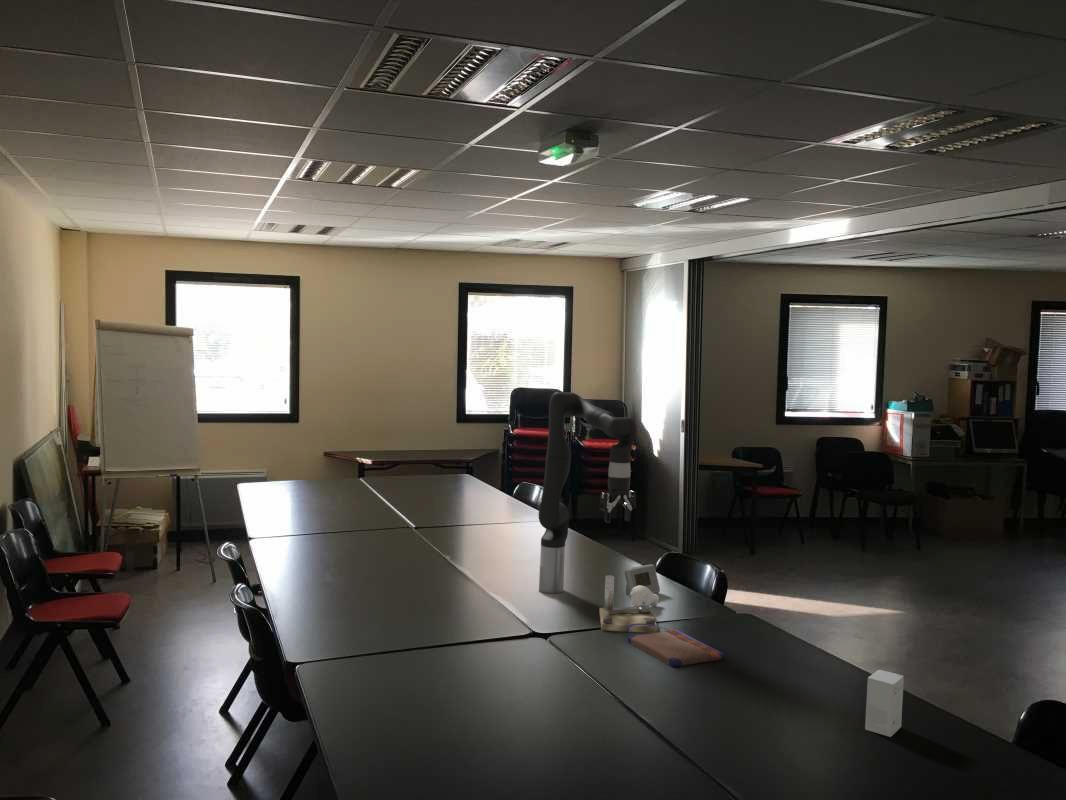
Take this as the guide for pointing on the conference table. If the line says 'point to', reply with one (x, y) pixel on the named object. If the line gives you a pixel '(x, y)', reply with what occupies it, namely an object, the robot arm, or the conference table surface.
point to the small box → (884, 702)
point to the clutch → (674, 647)
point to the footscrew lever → (609, 600)
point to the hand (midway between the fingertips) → (617, 521)
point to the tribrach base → (627, 621)
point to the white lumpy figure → (643, 596)
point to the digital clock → (642, 578)
